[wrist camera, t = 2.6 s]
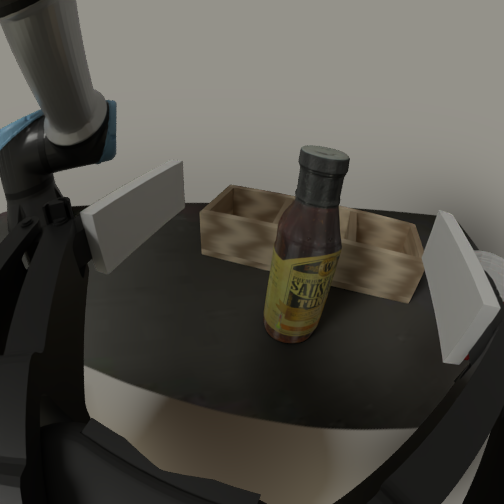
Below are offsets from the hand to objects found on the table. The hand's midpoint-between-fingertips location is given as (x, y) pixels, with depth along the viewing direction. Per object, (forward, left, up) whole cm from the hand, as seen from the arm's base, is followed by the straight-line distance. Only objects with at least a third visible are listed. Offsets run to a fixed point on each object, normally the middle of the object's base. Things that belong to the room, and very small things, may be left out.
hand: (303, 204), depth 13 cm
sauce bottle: (-2, +10, -20) cm, 22 cm away
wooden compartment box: (-5, +24, -20) cm, 31 cm away
